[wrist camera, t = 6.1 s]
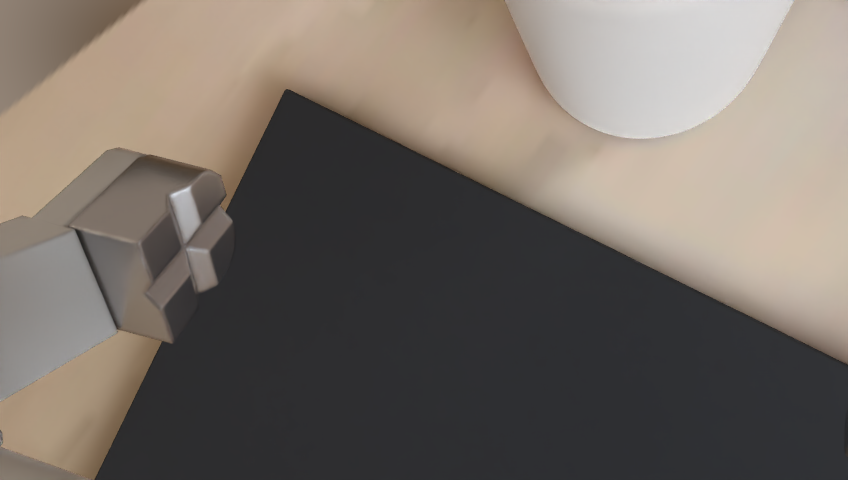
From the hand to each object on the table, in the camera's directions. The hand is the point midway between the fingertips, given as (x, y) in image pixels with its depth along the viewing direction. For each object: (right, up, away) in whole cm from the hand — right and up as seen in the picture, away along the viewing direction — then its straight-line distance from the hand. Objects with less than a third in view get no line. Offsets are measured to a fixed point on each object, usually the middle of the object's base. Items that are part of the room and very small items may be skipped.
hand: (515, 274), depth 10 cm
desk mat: (-1, -7, +14) cm, 15 cm away
